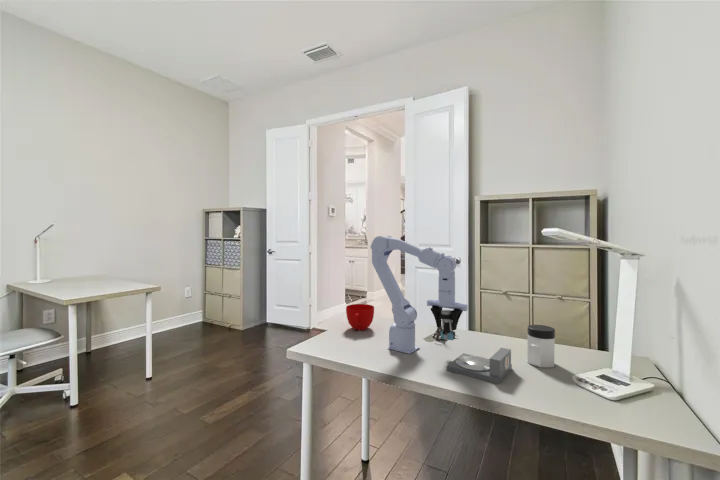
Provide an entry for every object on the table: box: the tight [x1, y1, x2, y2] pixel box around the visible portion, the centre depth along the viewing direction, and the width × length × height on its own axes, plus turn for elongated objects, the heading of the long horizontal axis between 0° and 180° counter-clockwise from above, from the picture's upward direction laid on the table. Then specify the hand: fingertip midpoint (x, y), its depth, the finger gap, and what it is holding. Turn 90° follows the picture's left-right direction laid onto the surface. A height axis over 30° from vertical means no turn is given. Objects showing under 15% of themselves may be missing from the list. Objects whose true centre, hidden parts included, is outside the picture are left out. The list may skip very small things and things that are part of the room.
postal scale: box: [446, 347, 513, 385], centre depth 108 cm, size 16×14×6 cm
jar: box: [526, 324, 556, 369], centre depth 113 cm, size 9×8×12 cm
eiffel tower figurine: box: [423, 324, 449, 346], centre depth 140 cm, size 15×10×13 cm
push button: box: [439, 309, 460, 341], centre depth 120 cm, size 7×5×10 cm
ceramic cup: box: [345, 303, 375, 331], centre depth 153 cm, size 13×17×10 cm
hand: (446, 328), depth 120 cm, fingers closed on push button, 5 cm apart
